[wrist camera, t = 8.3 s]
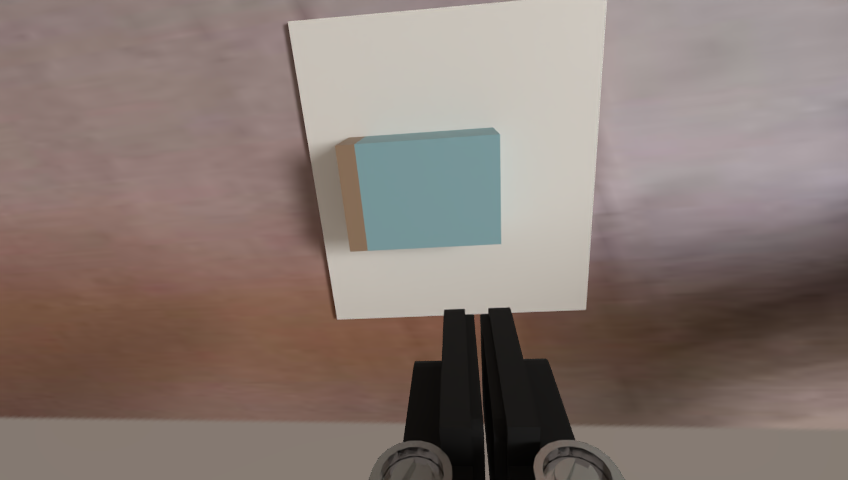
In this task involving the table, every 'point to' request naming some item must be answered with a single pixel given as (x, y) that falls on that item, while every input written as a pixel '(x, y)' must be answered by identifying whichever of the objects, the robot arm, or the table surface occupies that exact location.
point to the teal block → (421, 189)
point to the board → (456, 110)
